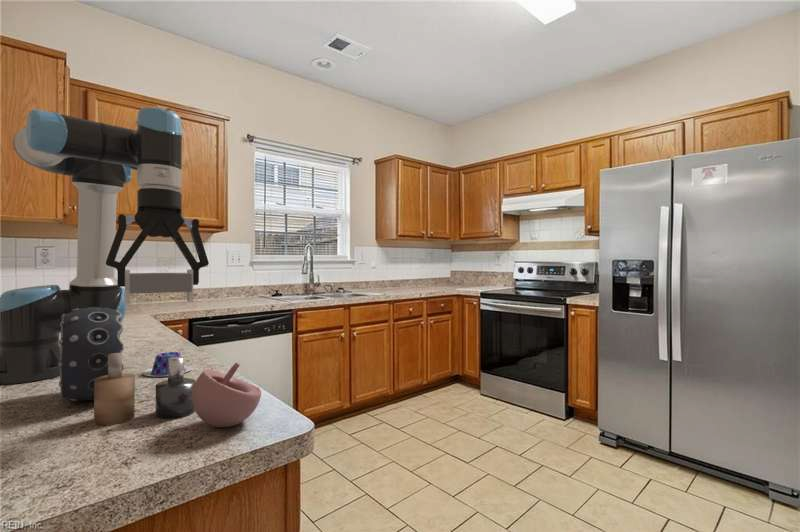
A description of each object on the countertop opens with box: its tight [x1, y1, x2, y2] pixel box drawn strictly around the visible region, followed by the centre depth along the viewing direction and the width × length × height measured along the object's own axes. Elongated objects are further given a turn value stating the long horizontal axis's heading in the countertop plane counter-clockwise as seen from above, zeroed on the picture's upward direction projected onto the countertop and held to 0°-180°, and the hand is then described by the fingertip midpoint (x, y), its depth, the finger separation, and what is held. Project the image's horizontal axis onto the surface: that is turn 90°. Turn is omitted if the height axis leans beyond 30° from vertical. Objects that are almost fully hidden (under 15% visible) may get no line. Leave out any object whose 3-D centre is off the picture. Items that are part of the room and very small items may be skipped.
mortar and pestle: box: [192, 362, 262, 428], centre depth 77 cm, size 12×12×12 cm
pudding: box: [142, 351, 193, 377], centre depth 112 cm, size 12×12×5 cm
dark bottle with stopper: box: [155, 356, 196, 420], centre depth 82 cm, size 7×7×11 cm
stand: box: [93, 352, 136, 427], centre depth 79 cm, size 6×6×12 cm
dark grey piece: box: [58, 307, 125, 402], centre depth 90 cm, size 11×20×20 cm, turn 37°
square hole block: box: [130, 272, 192, 295], centre depth 81 cm, size 10×10×4 cm
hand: (159, 302), depth 81 cm, fingers closed on square hole block, 10 cm apart
